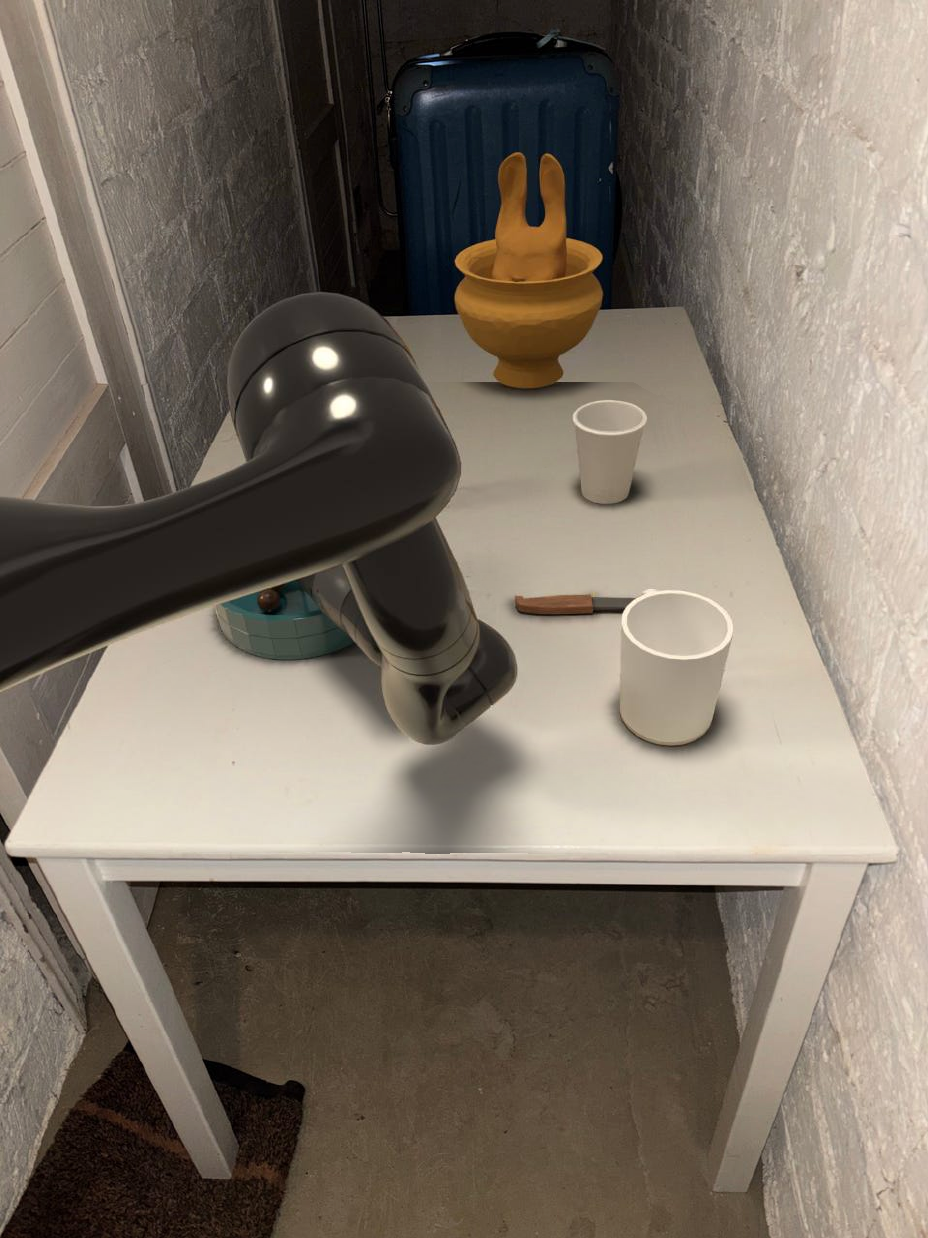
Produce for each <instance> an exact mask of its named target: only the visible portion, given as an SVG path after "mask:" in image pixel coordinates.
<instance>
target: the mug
mask: <svg viewBox="0 0 928 1238" xmlns="http://www.w3.org/2000/svg"><path fill="white" fill-rule="evenodd" d="M635 598H636V599H635V600H633V601H632V602H631V603H630V604H629V605H628V606H627V607H626V608H625V609H623V612H622V614H621V624H620V667H619V668H620V671H619V672H620V674H619V676H620V678H619V714H620V717H621V720H622V721H623V723H624V724H625V726H626V727H627V729H628V730H629V731H630V732H632V733H633V735H635V736H637V737H639V739H640V738H641V739H642V740H644V741H646V742H649V743H653V744H656V745H658V746H659V745H660V746H669V747H671V746H682V745H686V744H690V743H692V742H694V741H696V740H698V739H699V738H701V737H702V736H704V735H705V733H706V732H707V731H708V730H709V729H710V728H711V725H712V721H713V719H714V714H715V710H716V706H717V701H718V698H719V693H720V689H721V686H722V681H723V676H724V673H725V668H726V664H727V661H728V656H729V652H730V648H731V644H732V641H733V637H734V624H733V621H732V619H731V616H730V614H729V613H728V612H727V611H726V610H725V609H724V608H723V607H722V606H721V605H720V604H719V603H717V602H715V601H714V600H712V599H711V598H708V597H706V596H704V595H701V594H698V593H695V592H690V591H685V590H675V589H667V590H666V589H665V590H657V589H656V588H648V589H645V590H643V592H642V594H641V596H639V597H635Z"/></svg>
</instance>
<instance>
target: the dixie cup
mask: <svg viewBox="0 0 928 1238" xmlns="http://www.w3.org/2000/svg"><path fill="white" fill-rule="evenodd" d="M572 421H573V424H574V427H575V438H576V439H575V440H576V447H577V457H578V458H577V459H578V467H579V478H580V486H581V487H580V489H581V490H580V491H581V494H582V496H583V497H584V498H585V499H586V500H588V501H590V502H592V503H595V504H600V505H601V504H602V505H613V504H617V503H621V502H622V501H624V500H626V499H627V498H628V496H630V495H629V494H630V489H631V486H632V482H633V476H634V473H635V467H636V463H637V458H638V454H639V448H640V445H641V440H642V437H643V430H644V427H645V425H646V424H647V421H648V416H647V414H646V413H645V411H644V410H643V409H642V408H640V407H639V406H638V405H635V404H633V403H630V402H628V401H623V400H617V399H616V400H614V399H603V400H596V401H595V400H594V401H591V402H588V403H585V404H583V405H581V406H580V407H578V408H577V409H576V410H574V412H573V415H572Z"/></svg>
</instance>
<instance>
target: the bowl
mask: <svg viewBox="0 0 928 1238" xmlns="http://www.w3.org/2000/svg"><path fill="white" fill-rule="evenodd" d="M260 592H261V591H259V592H256V593H252V594H249V595H246V596H243V597H240V598H236V599H233V600H230V601H227V602H224V603H220V604H217V605H214V606H213V607H214V609H215V613H216V616H217V617H216V618H217V619H218V620H217V621H218V622H219V625H220V629H221V631H222V633H223V635H224V636H225V637H226V639H227V640H228V641H229V642H230V643H231V644H233V645H234V646H235V647H237V648H238V649H239V650H241V651H243V652H245V653H248V654H250V655H254V656H257V657H260V658H265V659H271V660H280V661H281V660H282V661H285V660H287V661H289V660H291V661H293V660H305V659H311V658H317V657H321V656H325V655H329V654H331V653H333V652H337V651H339V650H342V649H344V648H346V647H348V646H350V645H353V644H355V642H354V641H353V640H352V639H351V638H350V636H349V635H348V634H347V633H346V632H344V631H343V630H342V629H340V628H339V627H338V626H336V625H335V624H334V623H333V622H332V621H331V620H330V619H329V618H328V616H327V615H326V614H324V613H322V612H321V610H320V609H319V607H318V605H317V604H316V603H315V602H314V601H313V600H312V599H311V597H310V596H309V595H308V594H307V593H306V592H305V591H304V590H303V589H302V587H301V586H300V585H299V584H298V582H297V581H296V580H294V581H291V582H288V583H284V588H283V591H282V592H281V593H280V594H279V596H280V599H281V603H280V606H279V607H278V609H277V610H275V611H273V612H264V611H262V610H261V609H260V608H259V607H258V605H257V597H258V595H259V593H260Z"/></svg>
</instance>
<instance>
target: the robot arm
mask: <svg viewBox="0 0 928 1238" xmlns="http://www.w3.org/2000/svg"><path fill="white" fill-rule="evenodd" d="M226 378H227V379H226V393H227V397H228V405H229V413H230V417H231V421H232V425H233V427H234V430H235V431H234V432H235V434H236V436H237V438H238V441H239V444H240V447H241V450H242V453H243V456H244V459H245V462H244V463H243V464H241V465H239V466H237V467H235V468H233V469H230V470H229V471H226V472H224V473H222V474H219V475H216V476H214V477H212V478H210V479H207V480H205V481H202V482H199V483H195V484H194V485H191V486H188V487H185V488H182V489H179V490H176V491H174V492H170V493H168V494H165V495H161V496H159V497H156V498H152V499H151V498H150V499H147V500H143V501H139V502H133V503H127V504H119V505H118V504H117V505H88V504H76V503H75V504H74V503H65V502H55V501H47V500H39V499H30V498H23V497H22V498H21V497H11V496H0V694H1V693H3V692H5V691H7V690H9V689H12V688H14V687H16V686H18V685H20V684H22V683H24V682H26V681H28V680H30V679H33V678H35V677H37V676H40V675H42V674H44V673H46V672H48V671H50V670H52V669H54V668H57V667H59V666H62V665H64V664H66V663H68V662H72V661H74V660H76V659H78V658H81V657H83V656H86V655H88V654H90V653H94V652H96V651H98V650H100V649H103V648H105V647H107V646H110V645H113V644H115V643H118V642H120V641H123V640H125V639H127V638H129V637H132V636H135V635H137V634H140V633H143V632H145V631H148V630H151V629H153V628H156V627H159V626H161V625H164V624H167V623H169V622H171V621H175V620H177V619H179V618H183V617H185V616H187V615H191V614H193V613H196V612H199V611H202V610H205V609H208V608H211V607H215V606H214V605H217V604H220V603H224V602H227V601H230V600H233V599H236V598H240V597H243V596H246V595H249V594H252V593H256V592H259V591H262V590H265V589H268V588H272V587H275V586H278V585H281V584H284V583H288V582H291V581H294V580H296V581H297V582H298V584H299V585H300V586H301V587H302V589H303V590H304V591H305V592H306V593H307V594H308V595H309V596H310V597H311V599H312V600H313V601H314V602H315V603H316V604H317V605H318V607H319V609H320V610H321V612H322V613H324V614H326V615H327V616H328V618H329V619H330V620H331V621H332V622H333V623H334V624H335V625H336V626H338V627H339V628H340V629H342V630H343V631H344V632H346V633H347V634H348V635H349V636H350V638H351V639H352V640H353V641H354V644H355V645H356V646H357V647H358V648H359V649H360V650H361V651H362V653H363V654H364V655H365V656H366V657H367V658H368V659H369V660H370V661H371V662H373V663H374V664H375V665H376V666H378V667H380V669H381V670H380V683H381V692H382V697H383V701H384V703H385V706H386V709H387V712H388V714H389V716H390V718H391V720H392V721H393V723H394V724H395V725H396V727H397V728H398V729H399V730H400V731H401V733H403V734H404V735H405V736H406V737H407V738H408V739H410V740H412V741H413V742H415V743H417V744H420V745H421V744H422V745H425V746H437V745H441V744H444V743H446V742H449V741H450V740H452V739H454V738H455V737H456V736H457V735H458V734H460V733H461V732H462V731H464V729H465V728H467V727H468V726H469V725H470V724H471V723H473V722H474V721H475V720H477V719H478V718H479V717H481V716H482V715H483V714H484V713H485V712H487V711H488V710H490V708H492V706H494V705H496V704H497V703H498V702H499V701H500V700H502V699H503V698H504V697H505V696H506V695H507V694H508V693H509V692H510V691H511V690H512V689H513V688H514V686H515V684H516V681H517V678H518V668H519V667H518V663H517V657H516V655H515V653H514V650H513V649H512V647H511V645H510V644H509V642H508V641H507V639H505V637H504V636H503V634H501V633H500V632H498V630H496V629H495V628H494V627H492V626H491V625H489V624H488V623H486V622H484V621H483V620H481V619H479V618H478V616H477V613H476V610H475V608H474V604H473V601H472V598H471V596H470V592H469V589H468V586H467V584H466V581H465V578H464V576H463V573H462V571H461V568H460V566H459V564H458V562H457V560H456V557H455V555H454V553H453V551H452V549H451V547H450V544H449V543H448V540H447V539H446V538H447V537H446V536H445V534H444V532H443V530H442V527H441V525H440V524H439V521H438V519H437V517H438V516H439V515H440V513H441V512H443V510H444V509H445V508H446V507H447V506H448V504H449V503H450V501H451V500H452V498H453V496H454V495H455V494H456V492H457V490H458V486H459V482H460V479H461V477H462V476H461V475H462V461H461V456H460V452H459V450H458V447H457V444H456V441H455V439H454V438H453V436H452V434H451V430H450V429H449V427H448V425H447V423H446V421H445V419H444V416H443V414H442V413H441V412H442V411H441V410H440V408H439V407H438V405H437V403H436V401H435V398H434V397H433V395H432V394H431V391H430V389H429V387H428V385H427V383H426V381H425V379H424V376H423V375H422V373H421V371H420V369H419V367H418V365H417V363H416V360H415V358H414V356H413V355H412V353H411V350H410V348H409V347H408V346H407V344H406V342H405V341H404V339H403V338H402V336H401V335H400V334H399V333H398V332H397V330H396V329H395V328H394V327H393V326H392V324H391V323H390V321H388V320H387V318H385V316H383V315H381V314H380V312H378V311H377V310H375V308H373V307H372V306H370V305H368V304H366V303H364V302H362V301H360V300H359V299H357V298H355V297H352V296H349V295H345V294H342V293H338V292H328V291H327V292H326V291H316V292H307V293H301V294H298V295H294V296H291V297H288V298H284V299H282V300H279V301H277V302H276V303H273V304H272V305H270V306H268V307H267V308H265V309H264V310H263V311H261V313H259V314H258V315H257V316H255V317H253V319H252V320H251V321H250V322H249V324H248V325H247V326H246V327H245V328H244V330H242V332H241V333H240V334H239V337H238V338H237V341H236V343H234V346H233V348H232V351H231V355H230V358H229V363H228V366H227V377H226Z"/></svg>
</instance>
